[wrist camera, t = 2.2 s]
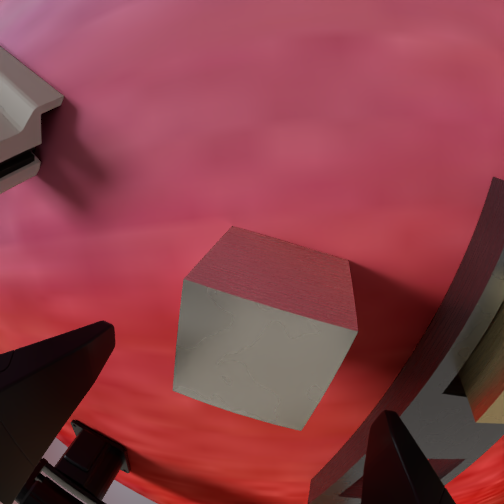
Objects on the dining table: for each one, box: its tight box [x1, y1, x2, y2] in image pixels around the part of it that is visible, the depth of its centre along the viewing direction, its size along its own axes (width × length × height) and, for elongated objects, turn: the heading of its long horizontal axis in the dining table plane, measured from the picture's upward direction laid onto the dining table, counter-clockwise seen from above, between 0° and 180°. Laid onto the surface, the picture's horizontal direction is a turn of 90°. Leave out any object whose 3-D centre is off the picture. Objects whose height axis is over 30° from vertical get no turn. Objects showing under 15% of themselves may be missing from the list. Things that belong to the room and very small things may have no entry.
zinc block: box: [173, 226, 358, 431], centre depth 12 cm, size 5×5×5 cm
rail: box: [308, 177, 504, 504], centre depth 13 cm, size 24×9×2 cm, turn 167°
